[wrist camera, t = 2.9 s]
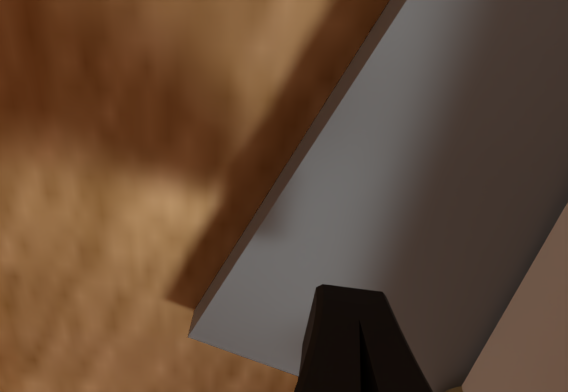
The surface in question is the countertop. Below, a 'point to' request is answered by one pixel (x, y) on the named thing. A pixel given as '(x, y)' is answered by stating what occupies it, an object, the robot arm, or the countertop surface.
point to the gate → (530, 328)
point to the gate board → (412, 187)
